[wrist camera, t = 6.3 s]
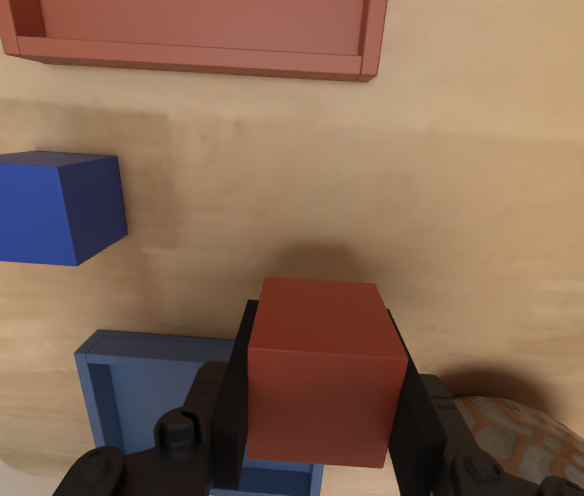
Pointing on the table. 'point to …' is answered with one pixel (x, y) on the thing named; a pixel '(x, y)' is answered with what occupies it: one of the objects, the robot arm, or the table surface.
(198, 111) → the table surface
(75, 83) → the table surface
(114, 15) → the terracotta tray
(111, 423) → the blue tray
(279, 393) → the rust block
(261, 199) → the table surface
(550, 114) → the table surface
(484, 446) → the vase
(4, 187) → the blue block
